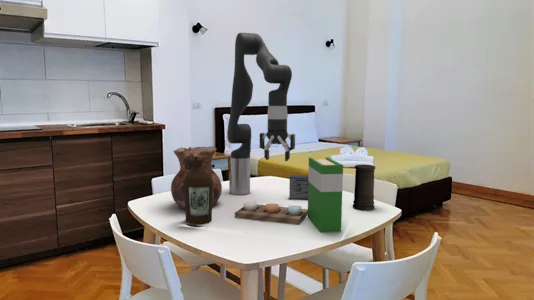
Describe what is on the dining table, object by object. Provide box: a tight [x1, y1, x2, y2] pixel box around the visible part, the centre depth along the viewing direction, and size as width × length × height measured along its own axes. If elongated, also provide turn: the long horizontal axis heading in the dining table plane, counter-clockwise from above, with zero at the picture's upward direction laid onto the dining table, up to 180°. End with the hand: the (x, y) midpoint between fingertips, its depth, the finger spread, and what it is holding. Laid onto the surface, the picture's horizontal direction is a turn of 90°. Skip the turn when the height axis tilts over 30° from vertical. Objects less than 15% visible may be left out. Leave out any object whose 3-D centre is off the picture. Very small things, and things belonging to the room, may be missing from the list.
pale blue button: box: [288, 205, 303, 216], centre depth 158 cm, size 5×5×2 cm
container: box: [352, 164, 376, 211], centre depth 176 cm, size 9×9×18 cm
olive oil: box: [183, 156, 213, 228], centre depth 153 cm, size 11×11×25 cm
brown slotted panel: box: [234, 204, 308, 226], centre depth 161 cm, size 25×14×3 cm, turn 71°
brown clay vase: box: [170, 146, 223, 210], centre depth 176 cm, size 22×21×25 cm
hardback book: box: [307, 156, 344, 233], centre depth 150 cm, size 18×7×24 cm, turn 8°
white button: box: [243, 200, 257, 211], centre depth 163 cm, size 5×5×2 cm
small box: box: [288, 174, 308, 201], centre depth 192 cm, size 11×6×10 cm, turn 84°
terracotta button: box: [265, 202, 280, 213], centre depth 160 cm, size 5×5×2 cm
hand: (277, 160), depth 163 cm, fingers open, 7 cm apart
